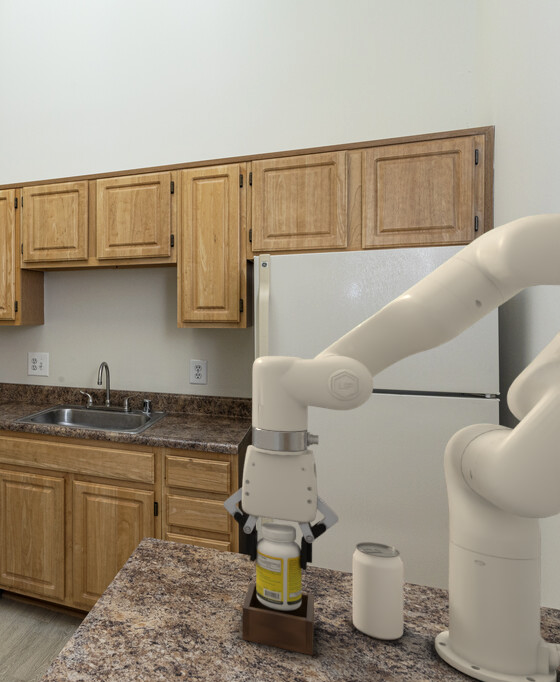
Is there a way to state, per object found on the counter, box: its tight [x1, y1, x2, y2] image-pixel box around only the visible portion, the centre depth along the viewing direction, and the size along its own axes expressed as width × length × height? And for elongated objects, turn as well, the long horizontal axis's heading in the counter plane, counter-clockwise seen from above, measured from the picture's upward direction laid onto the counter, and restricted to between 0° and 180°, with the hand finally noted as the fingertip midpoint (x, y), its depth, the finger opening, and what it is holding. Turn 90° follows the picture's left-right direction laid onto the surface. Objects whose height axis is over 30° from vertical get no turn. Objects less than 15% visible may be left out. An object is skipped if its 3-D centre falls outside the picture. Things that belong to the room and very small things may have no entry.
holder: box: [242, 582, 315, 656], centre depth 82 cm, size 9×9×5 cm
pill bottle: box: [255, 521, 303, 611], centre depth 82 cm, size 6×6×11 cm
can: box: [352, 541, 404, 641], centre depth 83 cm, size 6×6×12 cm
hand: (278, 561), depth 82 cm, fingers closed on pill bottle, 6 cm apart
